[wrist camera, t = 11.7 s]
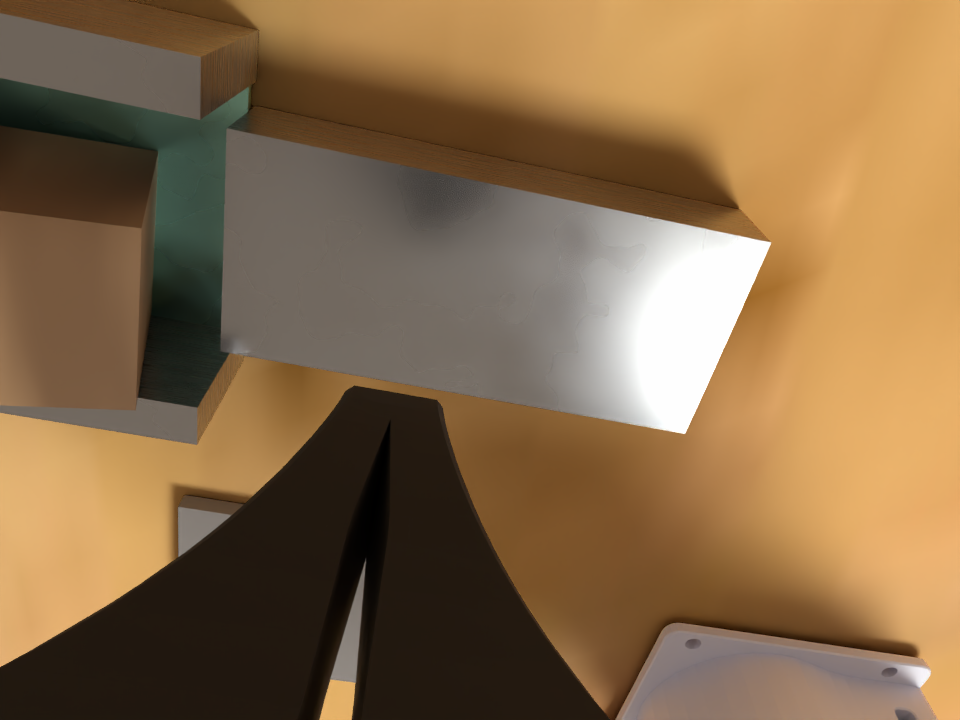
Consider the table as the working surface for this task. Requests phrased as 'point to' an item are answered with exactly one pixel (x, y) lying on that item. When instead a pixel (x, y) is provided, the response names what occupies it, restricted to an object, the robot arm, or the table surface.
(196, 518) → the rubber pad
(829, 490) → the table surface
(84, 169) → the walnut block
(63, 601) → the table surface
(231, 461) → the table surface
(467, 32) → the table surface
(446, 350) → the rail
